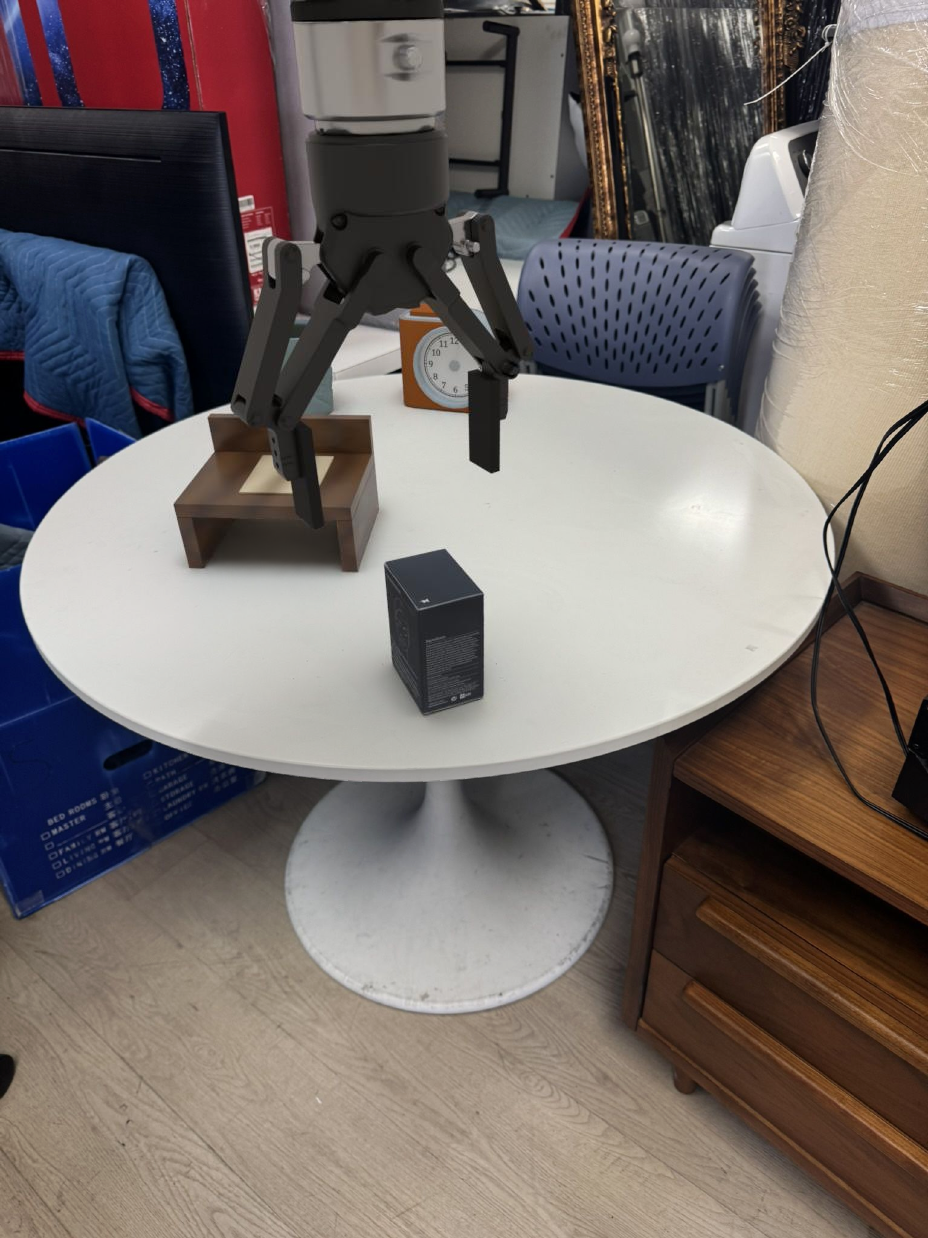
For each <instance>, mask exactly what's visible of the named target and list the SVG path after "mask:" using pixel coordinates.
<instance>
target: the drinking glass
mask: <svg viewBox="0 0 928 1238" xmlns="http://www.w3.org/2000/svg"><path fill="white" fill-rule="evenodd" d="M308 321H309V319H305V318H303V319H302V318H301V319H300V318H298V319H297V318H296V319H295V323H294V326H293V330H292V333H291V337H290V340H289V344H288V347H287V351H286V354H285V358H284V361H283V365H282V368H281V371H282V369H283V367H284V365H285V363H286V362H287V360H288V358H289V356H290V354H291V352H292V351H293V349H294V347H295V345H296V343H297V341H298V340H299V338H300V336H301V334H302V332H303V330H304V329H305V327H306V325H307V323H308ZM280 373H281V372H280ZM333 377H334V376H333V367H332V363H331V365H330V367H329V369H328V371H327V372H326V374H325V376H324V378H323V380H322V381H321V383H320V385H319V387H318V389H317V390H316V392H315V394H314V396H313V398H312V399H311V401H310V403H309V405H308V407H307V408H306V410H305V412H304V414H306V415H330V413H331V412H333V409H334V390H333Z"/></svg>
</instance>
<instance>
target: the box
mask: <svg viewBox="0 0 928 1238" xmlns="http://www.w3.org/2000/svg"><path fill="white" fill-rule="evenodd" d="M383 569H384V570H383V571H384V580H385V581H384V582H385V592H386V605H387V616H388V627H389V628H388V629H389V639H390V651H391V653H390V654H391V663H392V665H393V666H394V668H395V670H396V672H397V674H398V675H399V677H400V678H401V680H402V682H403V683H404V685H405V686H406V689H407V690H408V692H409V694H410V695H411V697H412V698H413V700H414V701H415V703H416V705H417V706H418V709H419V710H420V711H421V713H422V714H423V715H428V714H431V713H434V712H440V711H443V710H446V709H449V708H452V707H457V706H459V705H463V704H467V703H469V702H474V701H476V700H480V699H482V698H484V695H485V593H484V591H483V590H481V588H480V587H479V585H477V584H476V582H475V581H474V580H473V579H472V578H471V576H469V574H468V573H467V572H466V570H465V569H463V568H462V566H461V565H460V564H459V563H458V562H457V560H456V559H455V558H454V557H453V556H452V555H451V554H450V552H449V551H448V550H447V548H441V549H436V550H432V551H428V552H423V553H418V554H414V555H409V556H404V557H401V558H400V557H399V558H396V559H391V560H388V561H385V562H384V563H383Z"/></svg>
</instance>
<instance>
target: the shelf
mask: <svg viewBox="0 0 928 1238" xmlns="http://www.w3.org/2000/svg"><path fill="white" fill-rule="evenodd" d="M206 419H207V423H208V427H209V432H210V437H211V441H212V446H213V451H214V452H213V453H212V454H211V455H210V457H209V458H208V459H207V461H205V463H204V464H203V466H202V467H201V468H200V469H199V470H198V472H197V473H196V474H195V476H193V478H192V479H191V481H190V482H189V483H188V484H187V486H186V487H185V488H184V490H183V491H182V492H181V493H180V495H179V496H178V497H177V498H176V500H175V501H174V502H173V509H174V513H175V517H176V521H177V526H178V529H179V532H180V537H181V541H182V545H183V549H184V553H185V557H186V561H187V566H188V568H189V569H193V568H195V569H203V568H205V567H206V565H207V563H208V562H209V560H210V558H211V557H212V555H213V554H214V552H215V550H216V549H217V547H219V544H220V543H221V541H222V539H223V538H224V536H225V535H226V533H227V532H228V530H229V528H230V527H231V525H232V524H233V523H234V521H235V519H252V520H255V519H257V520H258V519H259V520H299V521H300V520H301V521H303V520H302V519H301V518H300V517H299V516H297V515H296V512H295V506H294V500H293V493H292V487H291V481H287V480H285V479H284V478H283V477H282V476H281V475H279V474H278V472H277V471H276V469H275V468H274V464H273V457H272V451H271V446H270V441H269V435H268V429H267V428H265V427H261V428H258V429H254V428H251V427H250V426H248V425H247V424H246V423H245V422H244V421H242V420H241V419H240V418H239V417H237V416H236V415H235V414H234V413H210V414H209V415H208V416H207V418H206ZM300 421H302V422H303V423H304V424H306V425H307V426H309V427H310V428H311V429H312V436H313V443H314V450H315V458H316V465H317V473H318V480H319V487H320V495H321V502H322V510H323V517H324V521H336V530H337V538H338V545H339V546H338V547H339V553H340V561H341V563H340V564H341V570H342V572H347V573H348V572H349V573H351V572H353V573H358V571H359V568H360V566H361V562H362V560H363V557H364V554H365V551H366V548H367V546H368V542H369V540H370V536H371V533H372V530H373V527H374V524H375V522H376V519H377V515H378V513H379V510H380V503H379V493H378V482H377V470H376V461H375V459H376V458H375V450H374V447H375V446H374V438H373V437H374V436H373V425H372V416H371V415H370V414H327V415H306V414H303V416H302V417H301V419H300Z"/></svg>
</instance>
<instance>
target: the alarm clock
mask: <svg viewBox="0 0 928 1238" xmlns="http://www.w3.org/2000/svg"><path fill="white" fill-rule="evenodd" d="M470 309H471V310H472V311H473V312H474V314H475V315H476V316H477V317H478V319H479V320H480V321H481V322H482V324H483V325H484V326H485V327H486V329H487V330H488V331H489V332H490V334H491V335H492V336H493V338H494V339H495V337H494V335H493V333H492V330H491V328H490V326H489V324H488V321H487V319H486V317H485V314H484V312H483V310H479V309H476V308H471V307H470ZM398 333H399V345H400V346H399V349H400V362H401V363H400V364H401V380H402V396H403V397H402V398H403V404H404V405H405V406H407V407H410V408H416V409H417V408H418V409H428V410H429V409H430V410H440V411H449V412H451V411H452V412H461V413H462V412H463V413H468V371H471V370H475V369H478V370H480V371H482V367H481V366H480V365H479V364H478V363H477V362H476V361H475V360H474V359H473V357H472V356H471V355H470V354H469V353H468V351H467V350H466V349H465V348H464V347H463V346H462V344H461V343H460V342H459V341H458V340H457V339H456V337H455V336H454V335H453V334H452V333H451V332H450V330H449V329H448V328H447V327H446V326H445V324H444V323H443V322H442V321H441V320H440V319H439V317H438V316H437V315H436V314H435V313H434V312H433V310H432V309H431V308H430V307H429V306H428V304H427V303H422V302H421V303H420V307H418V308H413V309H405V310H404V312H402V313H401V314H400V315H399V316H398ZM509 381H510V379H508V392H509V390H510V389H509V388H510V387H509V386H510V385H509Z"/></svg>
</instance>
